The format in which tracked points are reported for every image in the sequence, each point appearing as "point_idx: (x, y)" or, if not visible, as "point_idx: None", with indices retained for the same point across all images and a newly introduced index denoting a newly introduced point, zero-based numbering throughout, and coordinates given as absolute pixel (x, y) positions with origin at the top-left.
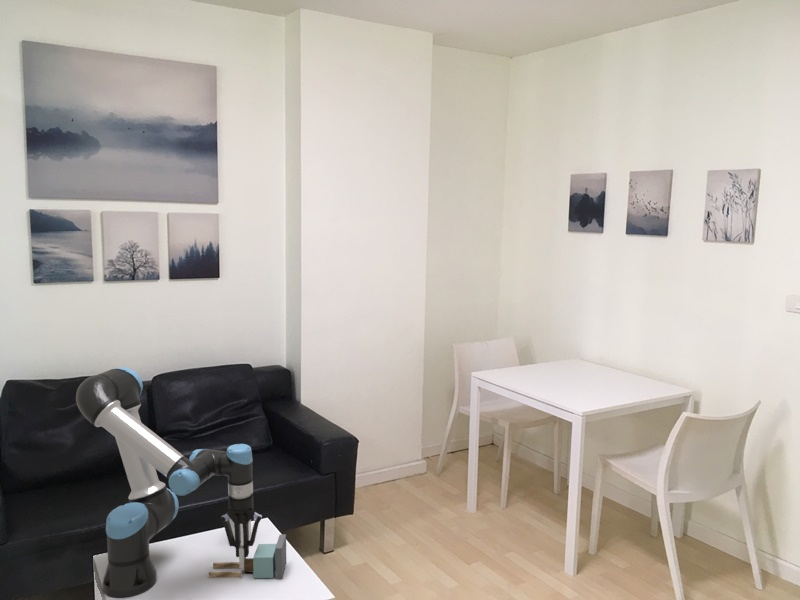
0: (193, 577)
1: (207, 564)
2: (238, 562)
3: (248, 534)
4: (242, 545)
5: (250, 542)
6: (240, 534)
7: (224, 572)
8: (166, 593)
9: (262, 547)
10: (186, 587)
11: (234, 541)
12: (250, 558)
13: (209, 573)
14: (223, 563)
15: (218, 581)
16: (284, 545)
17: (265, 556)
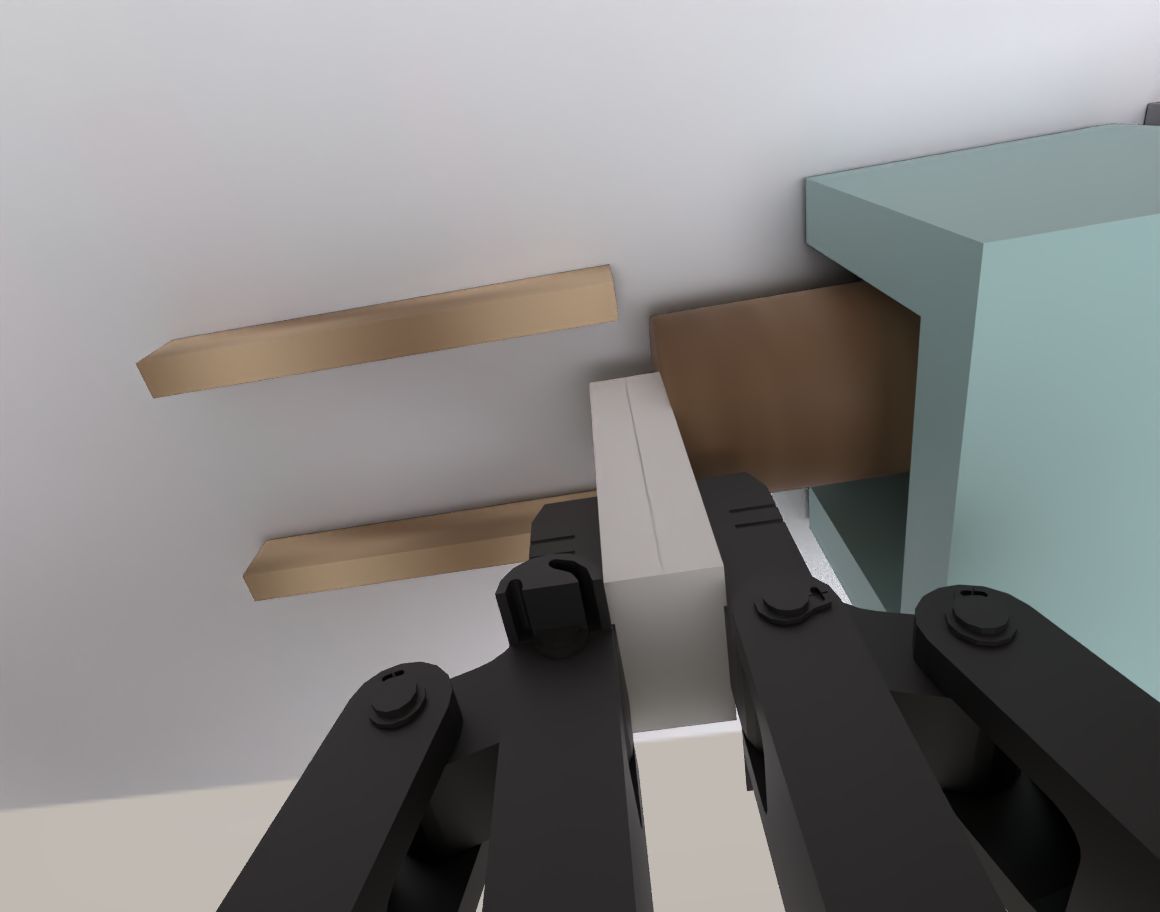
0: (105, 577)
1: (31, 284)
2: (512, 307)
3: (969, 881)
4: (665, 618)
5: (966, 827)
6: (635, 885)
7: (441, 564)
8: (77, 802)
9: (1101, 406)
10: (178, 720)
11: (482, 795)
12: (760, 416)
13: (268, 596)
14: (298, 365)
15: (427, 605)
16: None
17: (1155, 690)
